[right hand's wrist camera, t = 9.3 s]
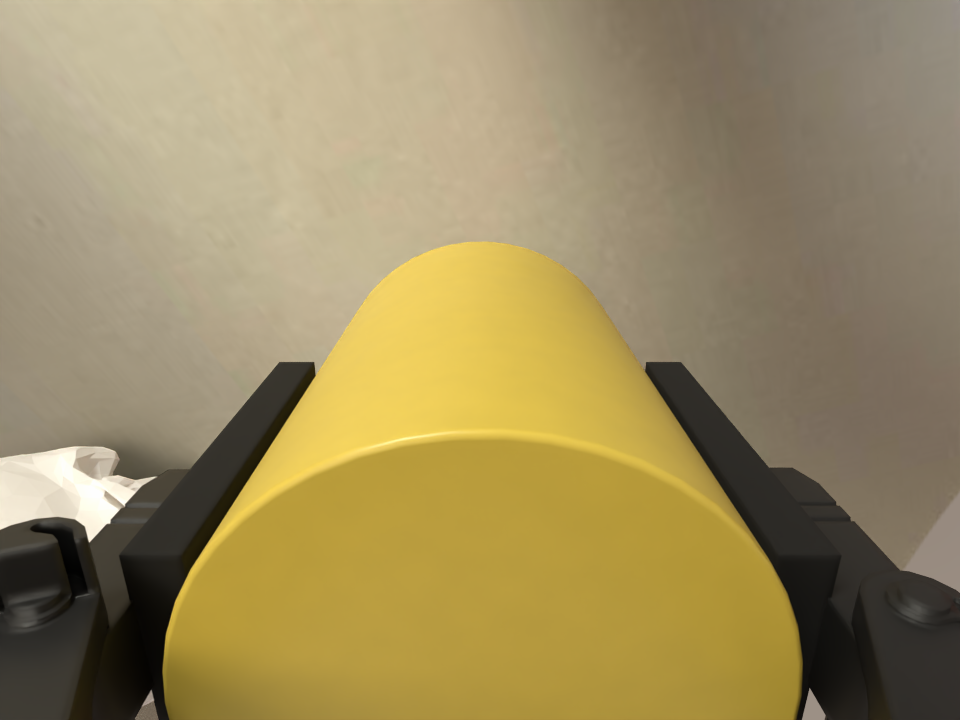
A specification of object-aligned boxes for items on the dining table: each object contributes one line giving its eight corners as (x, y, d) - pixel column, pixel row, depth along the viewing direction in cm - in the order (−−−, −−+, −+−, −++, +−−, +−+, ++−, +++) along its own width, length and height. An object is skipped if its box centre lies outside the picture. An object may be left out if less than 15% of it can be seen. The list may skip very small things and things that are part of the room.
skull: (314, 618, 44) (230, 864, 29) (-13, 587, 43) (-280, 825, 28) (323, 443, 39) (229, 624, 24) (-40, 405, 38) (-370, 568, 23)
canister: (294, 416, 17) (64, 783, 8) (434, 181, 15) (357, 285, 5) (518, 538, 18) (559, 977, 9) (676, 339, 16) (948, 642, 7)
